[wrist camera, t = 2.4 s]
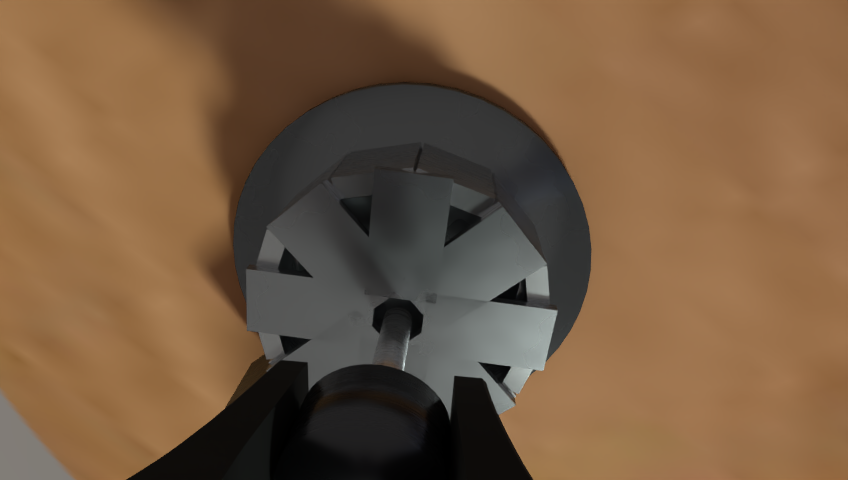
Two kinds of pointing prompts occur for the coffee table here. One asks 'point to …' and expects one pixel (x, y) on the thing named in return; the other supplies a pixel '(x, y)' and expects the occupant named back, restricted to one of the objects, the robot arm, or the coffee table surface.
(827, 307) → the coffee table surface
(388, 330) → the plunger
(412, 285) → the grey fan
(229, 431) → the robot arm
